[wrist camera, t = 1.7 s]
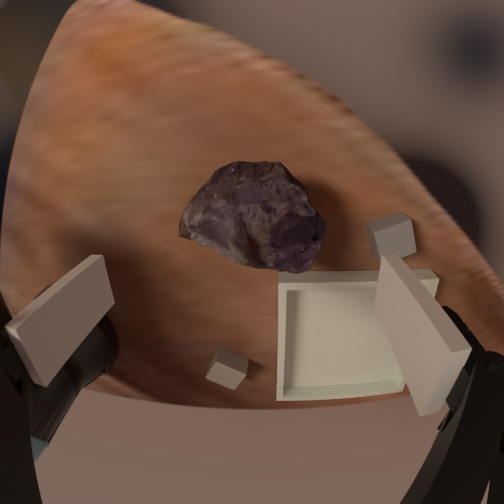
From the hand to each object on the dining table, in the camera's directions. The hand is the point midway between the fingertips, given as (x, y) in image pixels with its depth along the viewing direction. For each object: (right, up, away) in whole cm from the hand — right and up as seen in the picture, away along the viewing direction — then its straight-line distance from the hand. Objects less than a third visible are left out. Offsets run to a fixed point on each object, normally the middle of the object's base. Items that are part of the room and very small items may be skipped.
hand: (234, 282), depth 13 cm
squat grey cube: (+15, +3, +15) cm, 21 cm away
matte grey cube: (-2, -13, +23) cm, 26 cm away
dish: (+13, -9, +20) cm, 25 cm away
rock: (+1, +6, +15) cm, 17 cm away
